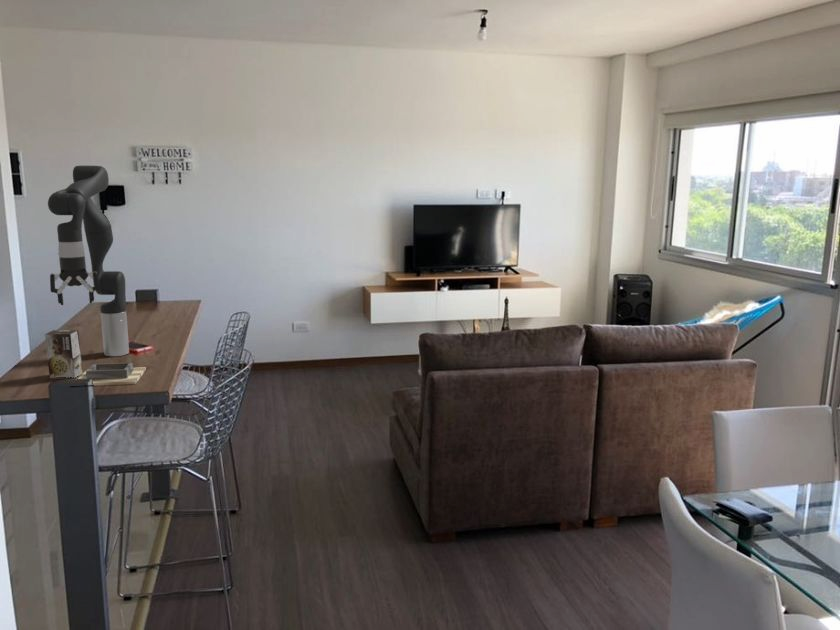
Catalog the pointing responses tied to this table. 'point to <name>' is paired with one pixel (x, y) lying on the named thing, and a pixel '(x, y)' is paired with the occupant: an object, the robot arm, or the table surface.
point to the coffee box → (63, 353)
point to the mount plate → (113, 374)
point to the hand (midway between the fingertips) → (76, 303)
